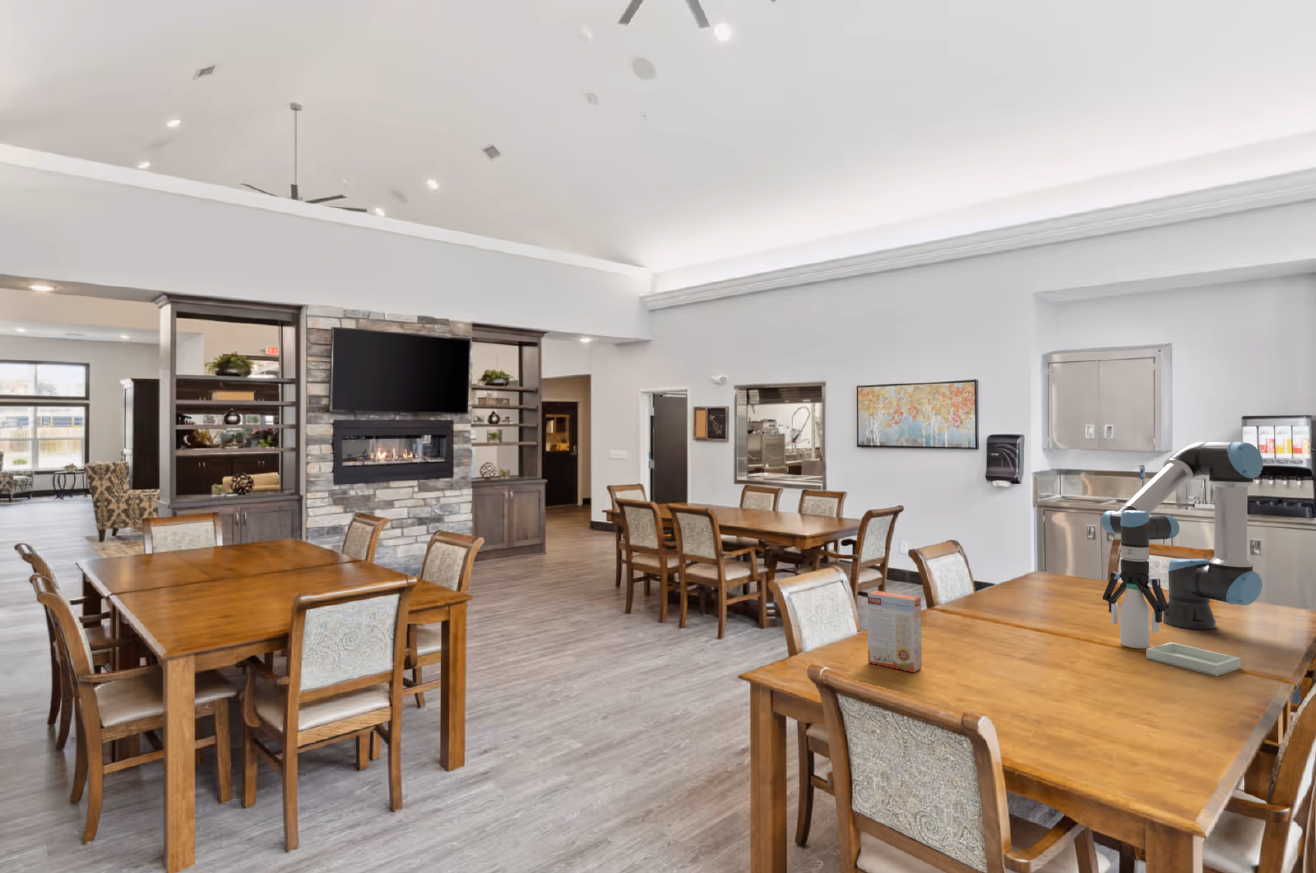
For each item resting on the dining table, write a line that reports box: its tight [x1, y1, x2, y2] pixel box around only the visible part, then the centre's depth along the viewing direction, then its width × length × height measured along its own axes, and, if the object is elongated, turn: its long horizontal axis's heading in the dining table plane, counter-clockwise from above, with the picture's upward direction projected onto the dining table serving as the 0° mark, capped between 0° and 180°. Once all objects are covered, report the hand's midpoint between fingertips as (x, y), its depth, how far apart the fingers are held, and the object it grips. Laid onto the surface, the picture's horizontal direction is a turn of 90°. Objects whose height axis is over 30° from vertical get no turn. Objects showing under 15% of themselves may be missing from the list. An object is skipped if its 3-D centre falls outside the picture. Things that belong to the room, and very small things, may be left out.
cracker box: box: [867, 590, 922, 673], centre depth 209 cm, size 14×6×21 cm, turn 47°
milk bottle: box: [1119, 583, 1150, 650], centre depth 228 cm, size 8×8×20 cm
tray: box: [1145, 641, 1242, 677], centre depth 210 cm, size 14×18×3 cm
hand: (1134, 627), depth 228 cm, fingers open, 11 cm apart
